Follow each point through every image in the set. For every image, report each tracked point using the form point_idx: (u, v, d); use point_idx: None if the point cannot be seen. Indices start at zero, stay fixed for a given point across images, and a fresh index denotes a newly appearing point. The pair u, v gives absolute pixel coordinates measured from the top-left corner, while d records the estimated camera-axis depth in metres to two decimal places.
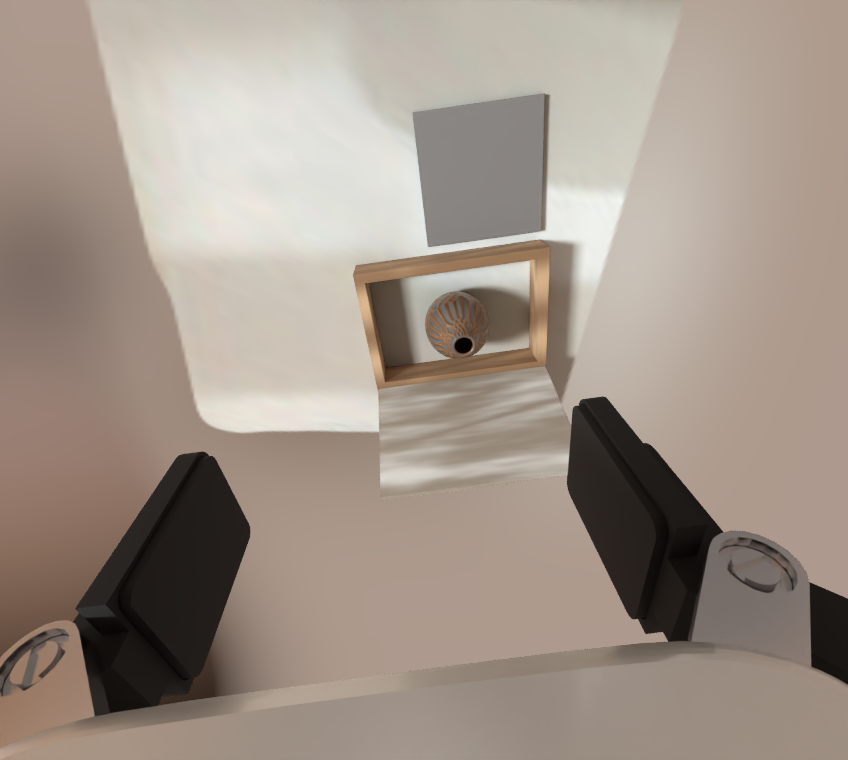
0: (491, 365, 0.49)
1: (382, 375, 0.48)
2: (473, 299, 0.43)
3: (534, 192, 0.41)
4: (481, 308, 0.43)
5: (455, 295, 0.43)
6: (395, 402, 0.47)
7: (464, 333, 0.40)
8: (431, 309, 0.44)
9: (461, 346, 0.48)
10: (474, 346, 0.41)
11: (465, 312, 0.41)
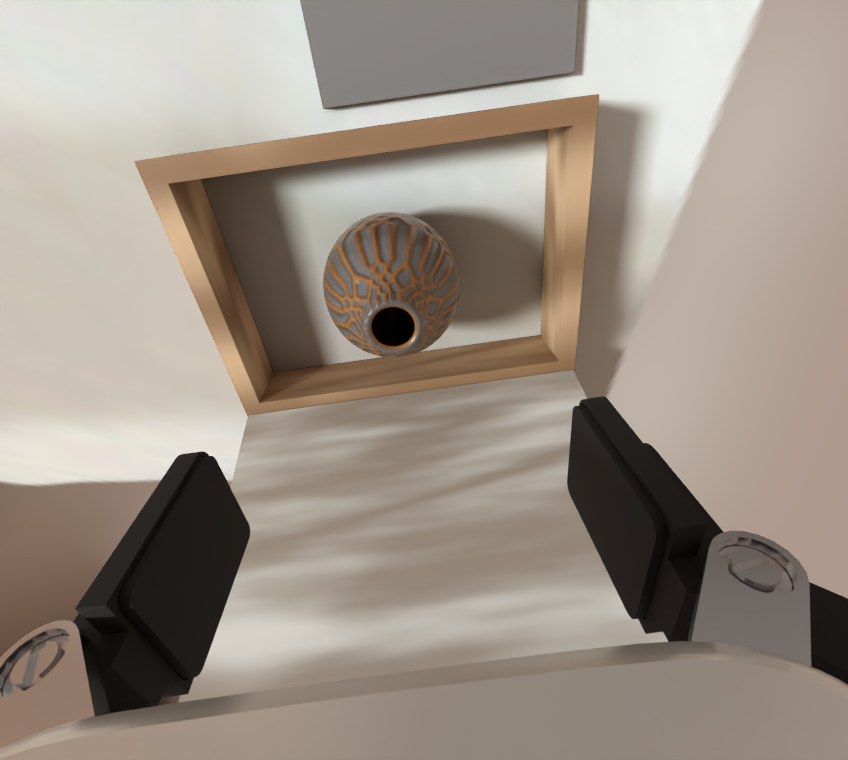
0: (468, 368, 0.25)
1: (251, 389, 0.24)
2: (423, 225, 0.19)
3: None
4: (440, 244, 0.19)
5: (382, 216, 0.19)
6: (273, 444, 0.23)
7: (392, 297, 0.16)
8: (332, 249, 0.20)
9: (407, 332, 0.24)
10: (419, 329, 0.17)
11: (399, 249, 0.17)
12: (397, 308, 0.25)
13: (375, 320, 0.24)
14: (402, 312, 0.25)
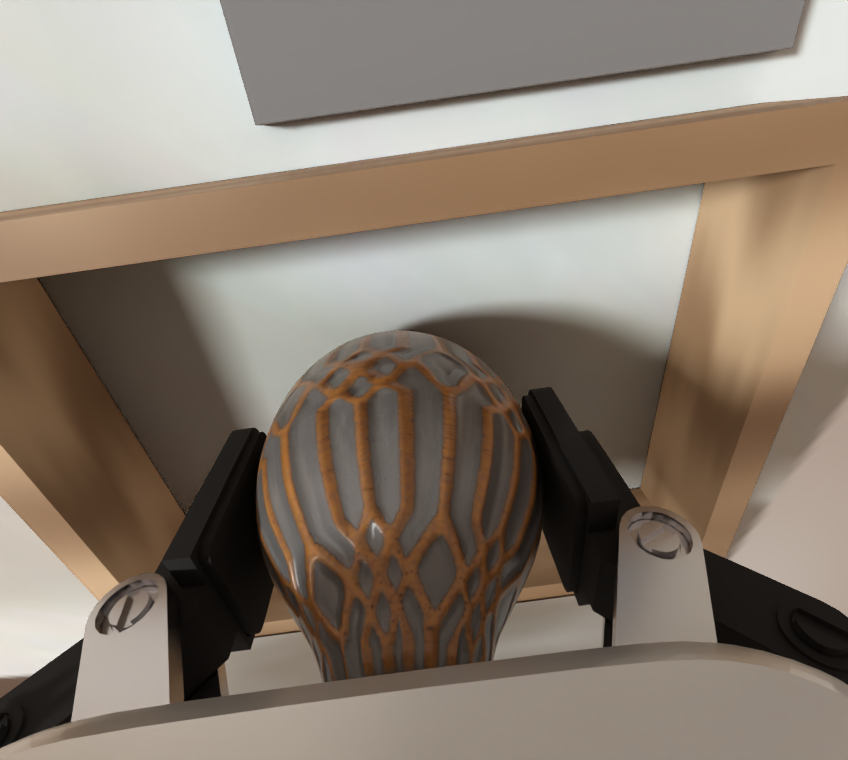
0: (531, 571, 0.14)
1: None
2: (470, 377, 0.09)
3: None
4: (510, 424, 0.09)
5: (382, 358, 0.09)
6: None
7: (408, 653, 0.06)
8: (275, 420, 0.09)
9: None
10: None
11: (423, 476, 0.07)
12: None
13: None
14: None
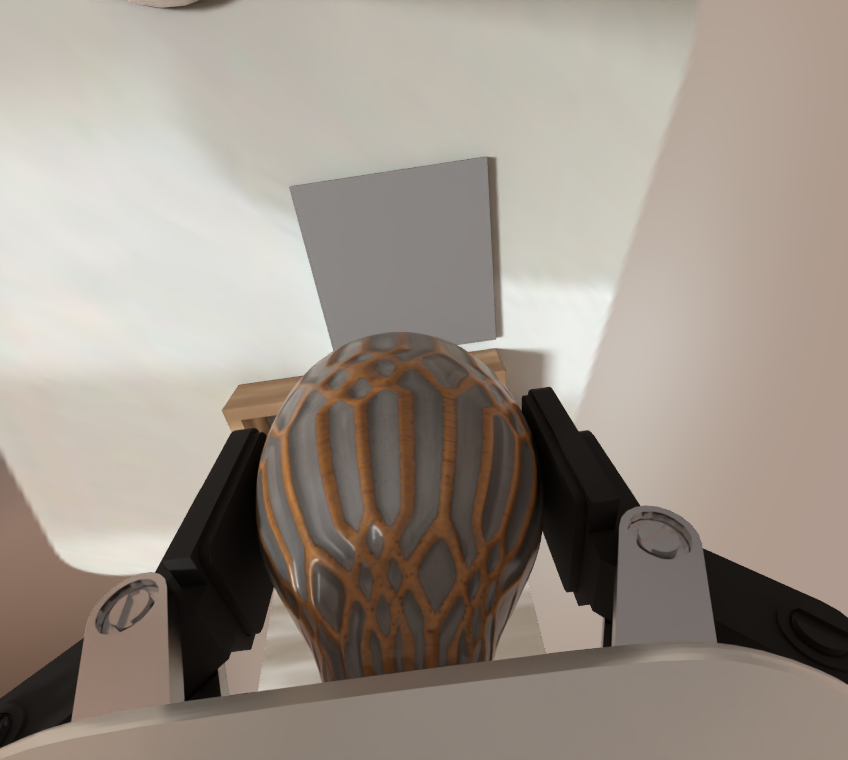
0: None
1: None
2: (471, 379, 0.09)
3: (482, 290, 0.29)
4: (510, 426, 0.09)
5: (383, 360, 0.09)
6: None
7: (408, 657, 0.06)
8: (275, 421, 0.09)
9: None
10: None
11: (423, 478, 0.07)
12: None
13: None
14: None
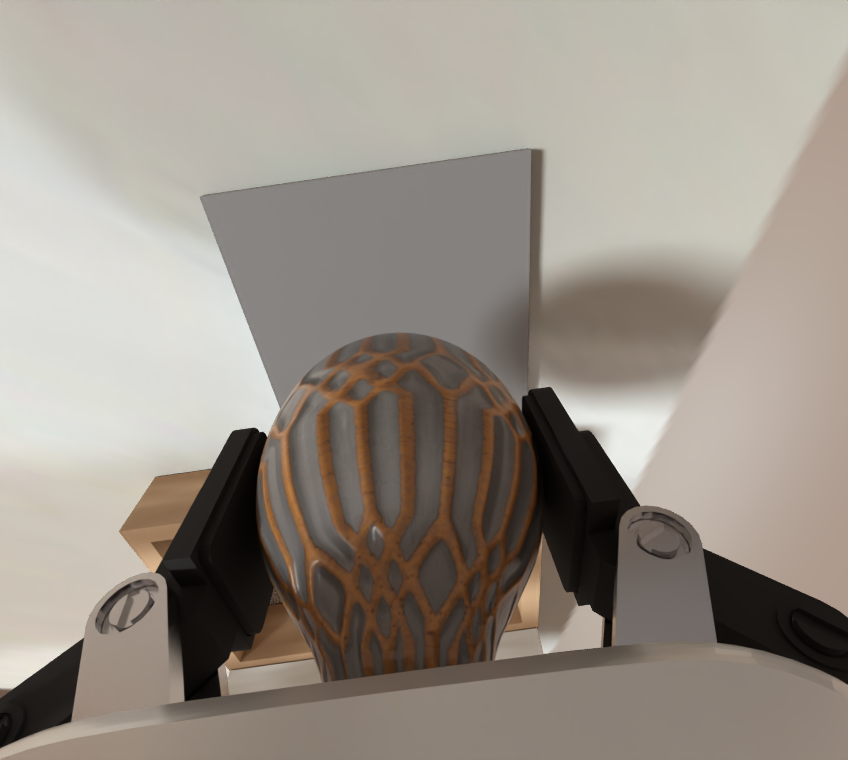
0: None
1: (232, 654, 0.25)
2: (471, 380, 0.09)
3: (511, 351, 0.19)
4: (511, 427, 0.09)
5: (383, 360, 0.09)
6: None
7: (409, 658, 0.06)
8: (275, 422, 0.09)
9: None
10: None
11: (424, 479, 0.07)
12: None
13: None
14: None
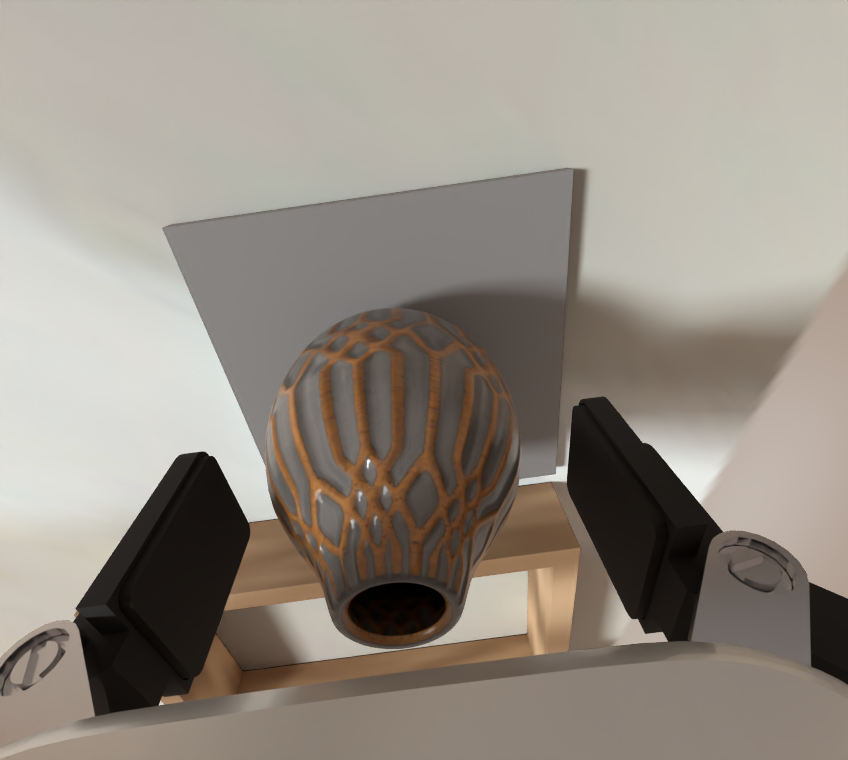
0: None
1: None
2: (456, 345, 0.10)
3: (540, 404, 0.16)
4: (490, 385, 0.10)
5: (378, 327, 0.10)
6: None
7: (396, 560, 0.07)
8: (282, 383, 0.11)
9: None
10: (455, 613, 0.08)
11: (411, 421, 0.08)
12: None
13: None
14: None
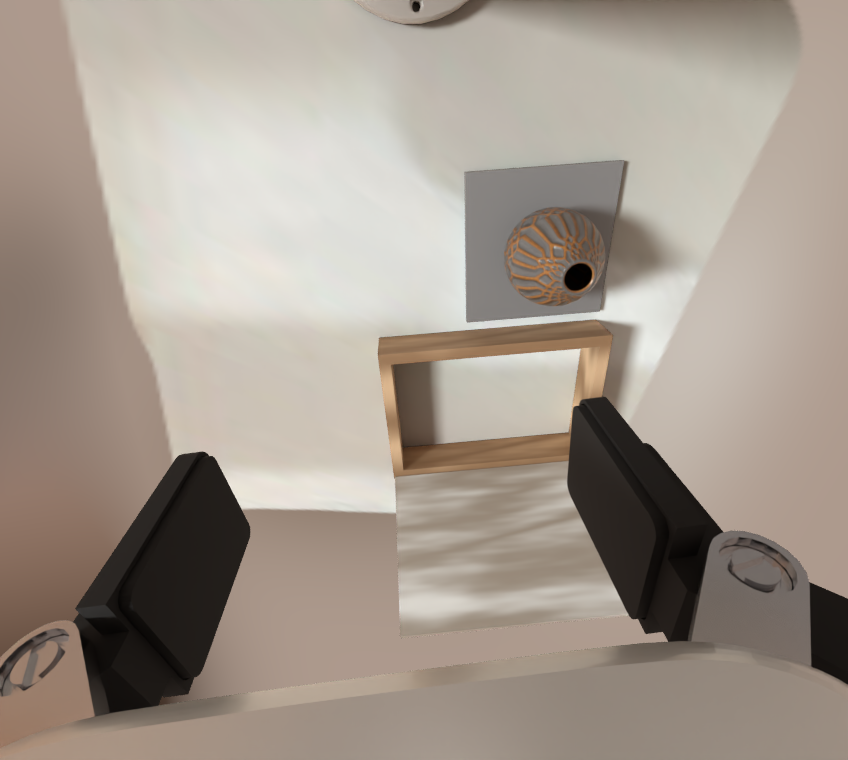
0: (527, 455, 0.42)
1: (401, 462, 0.41)
2: (585, 216, 0.29)
3: None
4: (597, 229, 0.29)
5: (558, 208, 0.29)
6: (415, 497, 0.40)
7: (582, 257, 0.26)
8: (520, 228, 0.29)
9: None
10: (594, 279, 0.26)
11: (580, 228, 0.27)
12: None
13: None
14: None
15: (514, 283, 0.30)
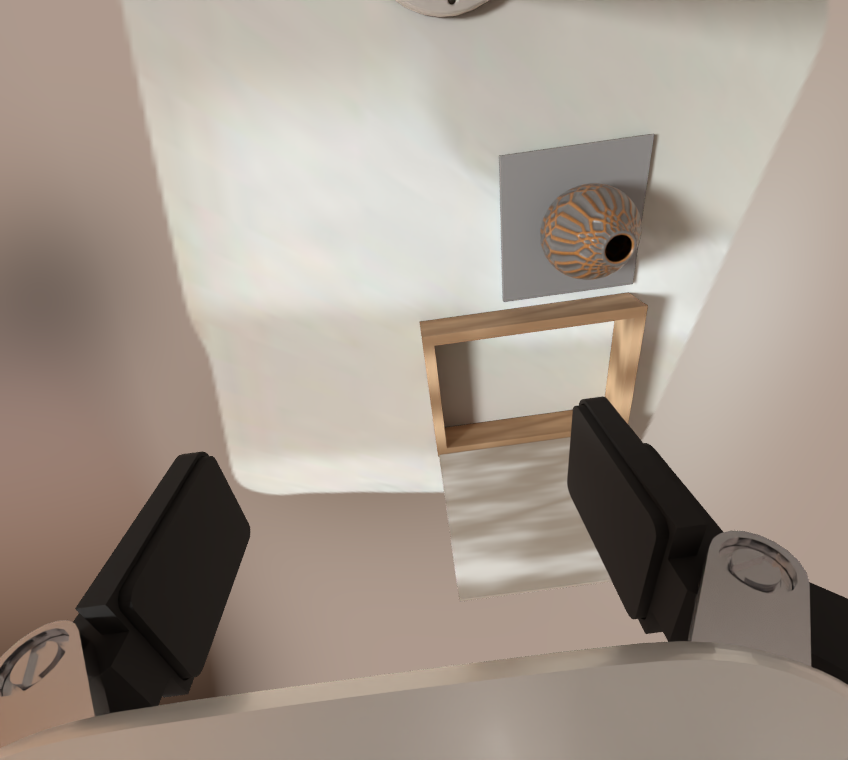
0: (565, 428, 0.43)
1: (444, 440, 0.42)
2: (619, 190, 0.30)
3: None
4: (632, 202, 0.30)
5: (594, 184, 0.30)
6: (460, 472, 0.42)
7: (622, 228, 0.27)
8: (557, 206, 0.31)
9: None
10: (634, 249, 0.28)
11: (617, 202, 0.28)
12: None
13: None
14: None
15: (553, 259, 0.32)
